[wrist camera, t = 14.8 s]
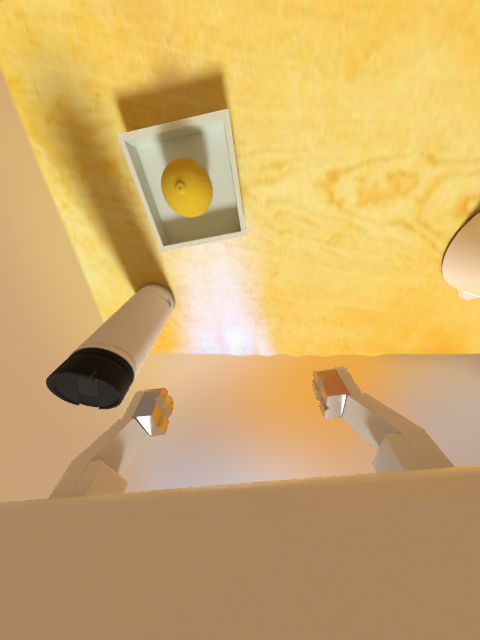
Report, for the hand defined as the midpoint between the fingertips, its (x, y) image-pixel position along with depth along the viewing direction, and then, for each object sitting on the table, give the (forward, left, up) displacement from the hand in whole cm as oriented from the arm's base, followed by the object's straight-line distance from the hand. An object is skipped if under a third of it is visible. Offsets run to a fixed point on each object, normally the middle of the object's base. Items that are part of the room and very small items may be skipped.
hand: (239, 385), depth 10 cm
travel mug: (+15, +3, -24) cm, 28 cm away
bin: (+4, -11, -24) cm, 26 cm away
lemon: (+3, -11, -24) cm, 26 cm away
